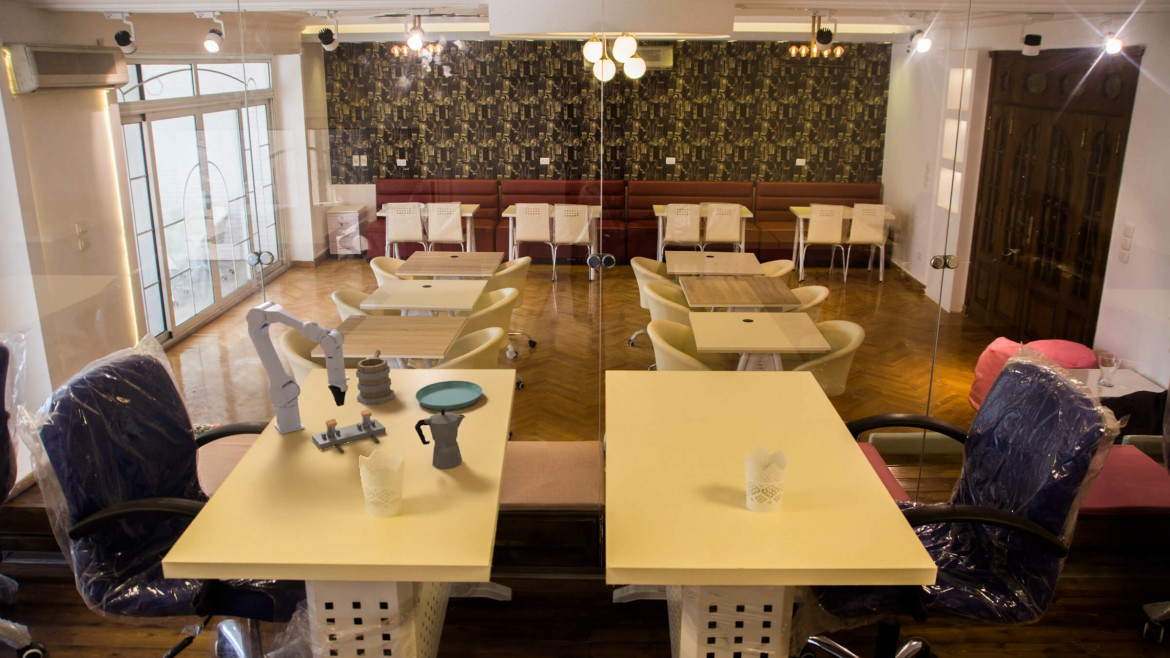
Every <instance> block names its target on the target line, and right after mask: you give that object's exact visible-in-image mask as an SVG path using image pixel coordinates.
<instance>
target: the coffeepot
mask: <svg viewBox="0 0 1170 658" xmlns="http://www.w3.org/2000/svg"><path fill="white" fill-rule="evenodd" d="M439 411H440V412H438V413H435V414H432V415H430V416H429V418H427V417H426V418H423V419H419V420H418V421H417V422H416V423H415V425H414V430H415V431H416V434H417V435H418V437H419V440H420V441H421V443H422V445H423V446H424V445H425V446H427V445H429V444H431V441H430V440H426V437H425V435H424V433H423V429H422V428H421V427H422V426H429V430H430V433H431V437H432V441H434V445H433V453H432V466H434V468H436V469H439V470H451V469H455V468H457V467H459V466H460V465H461V464H462V460H463V458H462V454H461V450H460V446H459V442H458V441H457V438H458V433H459V431H458V430H459V427H460V425H461V423H462V421H463V419H464V418H466V416H465V414H462V413H454V412H451V411H450V412H446V410H445V409H440V410H439Z"/></svg>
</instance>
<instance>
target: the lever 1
mask: <svg viewBox="0 0 1170 658" xmlns="http://www.w3.org/2000/svg"><path fill="white" fill-rule="evenodd" d="M337 424H338V423H337V420H336V418H333V419H329V420H326V421H325V426H326V432H327V433H326V434H327V437H328V436H332V435H335V429H336V426H337Z"/></svg>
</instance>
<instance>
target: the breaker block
mask: <svg viewBox="0 0 1170 658" xmlns="http://www.w3.org/2000/svg"><path fill="white" fill-rule="evenodd" d="M386 431H387V430H386V427H385V426H384V425H383V424H382V423H381V422H379V421H378V420H377V419H370V426H368V427H364V428H363V427H362V422H358V423H356V424H351V425H348V426H342V427H338V428H335V435H332V436H328V437H327V434H326V433H327V431H322V432H319V433H314V434H312V435H311V440H313V441H312V442H313V443H314V444H315V446H317V448H320V449H321V450H320V449H319V450H320V451H323V450H326V449H325V448H327V449H330V448H329V447H331V448H333V447H332V446H334V447H335V448H336V449H337V450H338V451H339V452H340V453H341V454H343V453H344V451H345V450H344V449H343V448H342V447H341V446H342V445H344V443H346V444H348V443H347V442H350V443H352V442H351V441H354V442H356V440H357V441H360V440H361V441H362V440H365V439H368V438H371V439H372V440H373V441H374V442H375V443H376V444H380V440H379V439H378V438H377V436H380V435H383V434H384V435H385V434H387V432H386ZM341 444H342V445H341ZM322 449H323V450H322Z"/></svg>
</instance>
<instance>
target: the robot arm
mask: <svg viewBox="0 0 1170 658" xmlns="http://www.w3.org/2000/svg"><path fill="white" fill-rule="evenodd" d="M245 321H246V322H247V332H248V335H249V337H250V340H251V342H252V344H253V346H254V348H255V350H256V352H257V355H258V357H259V359H260V361H261V363H262V365H263V367H264V370H265V372H266V374H267V377H268V378H269V385H268V391H269V392H268V393H269V395H270V396H269V399H270V401H271V403H272V404H273V405H274V411H275V418H276V423H274V426H275V428H276V429H277V430H278V432H279V433H280V434H281V435H283V434H284V435H285V434H288V433H290V432H296V431H299V430H304V429H305V428H306V427H305V425H304V424H303V423H302V421H301V415H300V407H299V396H300V395H301V387H300V385H299V384H298V383H297V382H296V381H295V379H294V377H293V376H292V375H289V374H287V373H286V370H285V368H284V366H283V364H282V362H281V359H280V357H279V354H278V353H277V350H276V349H275V347H274V344H273V342H272V340H271V338H270V335H269V333H268V330H269V328H270V326H271V324H276V323H280V324H282V325H285V326H287V327H290V328H293V329H294V330H297V331H300V332H301V334H302V337H303V338H305V339H308V340H309V341H312V342H314V343H316V344H318V345H319V346H320V348H321V349H322V350H323V354H324V357H325V366H326V373H327V374H326V375H327V384H329V385H328V386H327V387H328V389H329V390H330V392H331V394H332V397H333V398H334V399H333V400H334V402H335V404H336V406H337V407H343V406H344V405H345V398H346V394H347V391H349V386H348V384H347V383H348V381H350V379H351V378H350V376H347V375H346V368H345V367H346V366H345V360H344V352H343V351H344V350H343V344H344V343H345V335H344V334H343V333H342V331H340V330H339V329H336V328H334V329H331V328H329V327H325V326H323V325H321V324H318V321H316V320H309V321H305V320H303V319H301V318H300V317H298V316H297V315H295V314H292V313H291V312H289V311H288V310H286V309H284V308H283V306H281V304H278V303H276V302H274V301H271V300H267V301H265V302H263V303H261V304H259V305H257V306H255V307H252V308H251V309H249V310H248V312H247V314H246V316H245Z"/></svg>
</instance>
